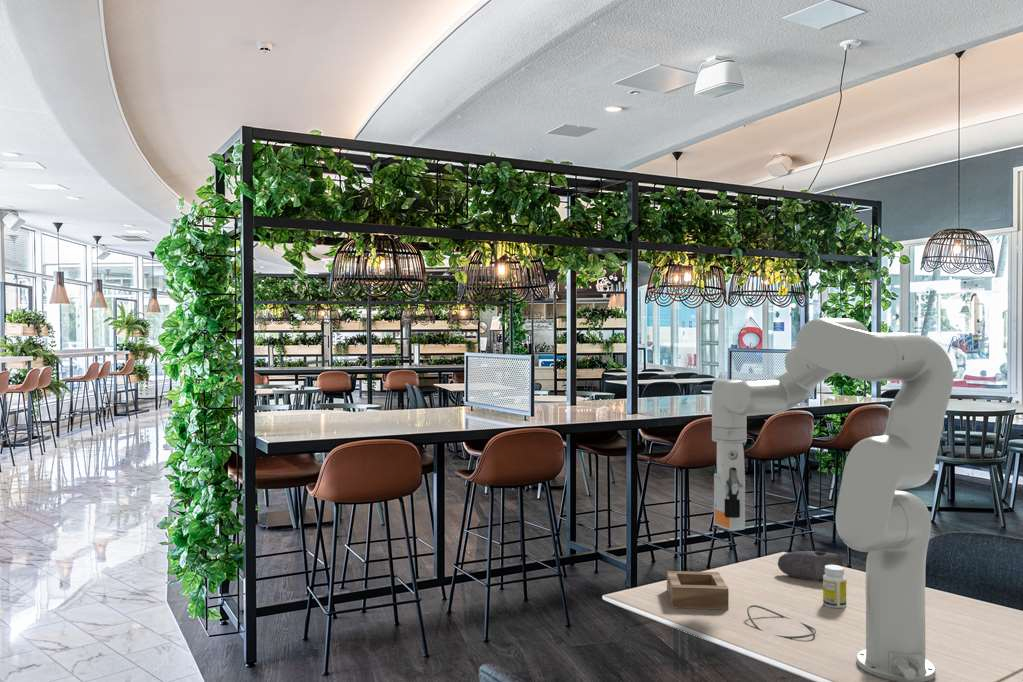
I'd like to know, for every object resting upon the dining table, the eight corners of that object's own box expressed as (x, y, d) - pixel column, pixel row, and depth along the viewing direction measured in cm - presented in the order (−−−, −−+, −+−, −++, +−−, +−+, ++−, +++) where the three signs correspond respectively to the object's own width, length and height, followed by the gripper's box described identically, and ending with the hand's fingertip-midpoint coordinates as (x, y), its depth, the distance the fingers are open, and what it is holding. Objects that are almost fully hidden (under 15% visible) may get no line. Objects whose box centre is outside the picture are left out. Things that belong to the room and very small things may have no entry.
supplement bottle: (842, 601, 171) (842, 564, 171) (849, 609, 166) (849, 570, 166) (820, 601, 171) (820, 563, 171) (826, 608, 167) (826, 570, 167)
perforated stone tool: (775, 577, 189) (775, 549, 189) (779, 571, 194) (779, 544, 194) (841, 586, 182) (841, 557, 182) (843, 580, 186) (843, 552, 186)
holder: (728, 609, 166) (728, 588, 166) (672, 607, 167) (672, 587, 167) (718, 591, 178) (718, 572, 178) (666, 590, 179) (666, 570, 179)
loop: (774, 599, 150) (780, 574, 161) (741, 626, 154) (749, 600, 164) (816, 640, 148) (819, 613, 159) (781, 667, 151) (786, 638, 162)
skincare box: (713, 525, 173) (713, 473, 173) (728, 523, 175) (728, 471, 175) (730, 531, 168) (730, 477, 168) (746, 529, 169) (746, 476, 169)
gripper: (753, 439, 162) (753, 523, 162) (739, 430, 180) (739, 505, 180) (717, 439, 163) (717, 522, 163) (706, 429, 180) (706, 504, 181)
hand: (729, 512), depth 171 cm, fingers closed on skincare box, 7 cm apart
